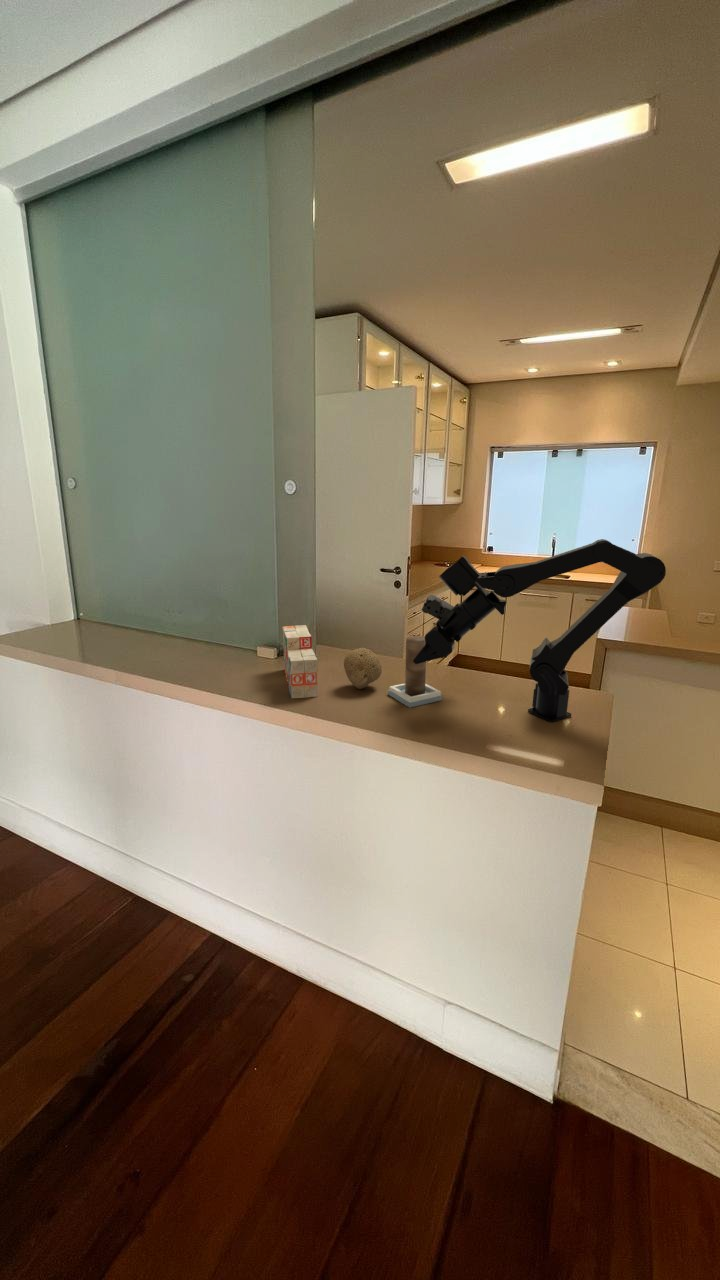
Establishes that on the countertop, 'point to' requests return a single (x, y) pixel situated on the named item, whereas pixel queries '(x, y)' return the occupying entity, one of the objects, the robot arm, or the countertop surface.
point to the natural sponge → (362, 667)
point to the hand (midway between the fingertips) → (419, 656)
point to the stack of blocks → (299, 661)
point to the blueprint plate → (417, 700)
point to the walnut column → (414, 667)
